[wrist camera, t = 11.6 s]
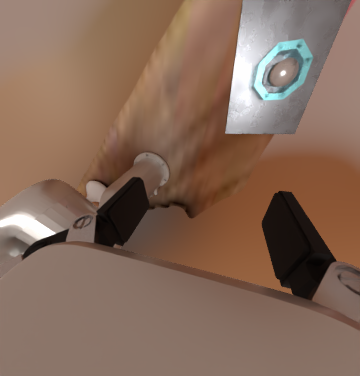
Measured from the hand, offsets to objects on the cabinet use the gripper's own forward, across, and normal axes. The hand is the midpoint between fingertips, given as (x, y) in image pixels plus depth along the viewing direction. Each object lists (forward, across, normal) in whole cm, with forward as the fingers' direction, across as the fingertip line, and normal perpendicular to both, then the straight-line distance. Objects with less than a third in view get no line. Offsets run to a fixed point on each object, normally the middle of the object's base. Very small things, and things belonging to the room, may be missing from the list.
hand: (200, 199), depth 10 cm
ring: (+27, -9, -8) cm, 30 cm away
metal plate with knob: (+28, -9, -8) cm, 31 cm away
